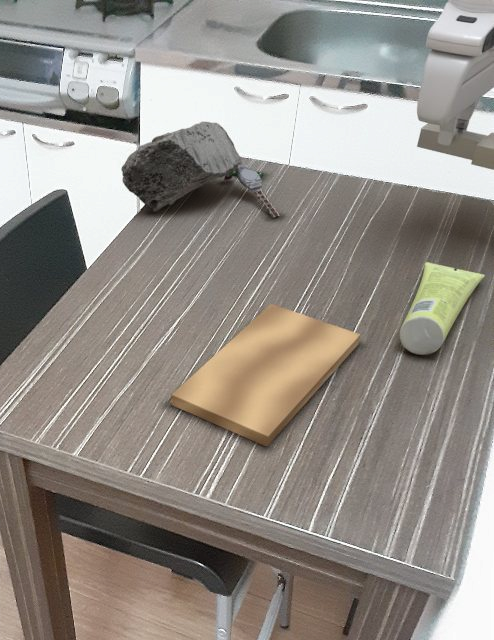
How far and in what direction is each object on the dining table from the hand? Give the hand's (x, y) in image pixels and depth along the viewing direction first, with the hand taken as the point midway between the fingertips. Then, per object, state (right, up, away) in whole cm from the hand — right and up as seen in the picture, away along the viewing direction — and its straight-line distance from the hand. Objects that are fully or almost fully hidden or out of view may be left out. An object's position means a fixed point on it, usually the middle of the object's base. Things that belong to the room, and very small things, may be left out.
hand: (451, 138), depth 100 cm
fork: (+3, -3, -1) cm, 4 cm away
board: (-27, -33, -13) cm, 44 cm away
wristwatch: (-24, -1, +18) cm, 30 cm away
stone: (-42, +6, +17) cm, 45 cm away
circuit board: (-23, +7, +25) cm, 35 cm away
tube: (-9, -29, -14) cm, 33 cm away
